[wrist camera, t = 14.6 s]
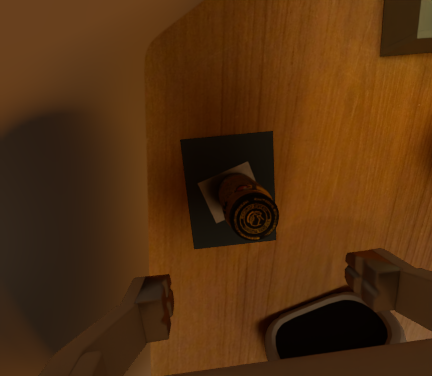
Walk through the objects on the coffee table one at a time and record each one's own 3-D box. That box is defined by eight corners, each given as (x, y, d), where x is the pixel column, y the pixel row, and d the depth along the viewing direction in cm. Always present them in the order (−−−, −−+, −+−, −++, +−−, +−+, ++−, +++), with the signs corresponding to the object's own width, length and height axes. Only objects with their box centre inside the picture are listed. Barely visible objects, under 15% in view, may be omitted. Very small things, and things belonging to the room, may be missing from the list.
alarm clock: (356, 279, 39) (435, 349, 25) (368, 317, 41) (446, 400, 28) (255, 319, 39) (281, 408, 26) (271, 355, 41) (303, 454, 28)
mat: (180, 139, 31) (180, 139, 30) (271, 131, 32) (272, 131, 31) (194, 247, 35) (194, 249, 34) (274, 237, 36) (276, 240, 35)
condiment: (263, 202, 33) (296, 234, 22) (216, 222, 34) (222, 265, 22) (247, 161, 32) (273, 171, 20) (197, 183, 32) (194, 206, 20)
